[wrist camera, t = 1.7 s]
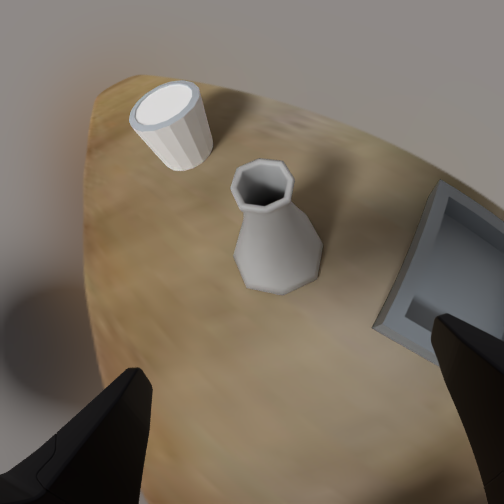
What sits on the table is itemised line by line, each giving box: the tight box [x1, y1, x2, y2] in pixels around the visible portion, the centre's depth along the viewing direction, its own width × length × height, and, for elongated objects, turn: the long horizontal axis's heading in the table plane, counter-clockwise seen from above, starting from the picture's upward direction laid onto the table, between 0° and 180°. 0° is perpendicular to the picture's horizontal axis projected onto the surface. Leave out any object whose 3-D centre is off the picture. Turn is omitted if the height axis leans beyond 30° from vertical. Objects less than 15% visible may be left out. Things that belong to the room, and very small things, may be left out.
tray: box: [372, 179, 504, 367], centre depth 18 cm, size 13×13×3 cm
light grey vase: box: [230, 158, 323, 295], centre depth 19 cm, size 7×7×10 cm
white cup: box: [129, 80, 213, 171], centre depth 25 cm, size 7×7×7 cm
